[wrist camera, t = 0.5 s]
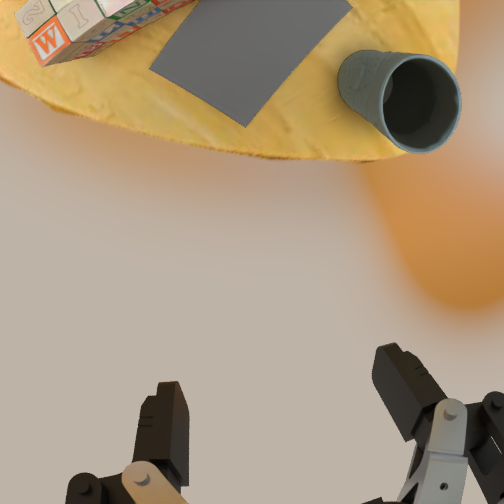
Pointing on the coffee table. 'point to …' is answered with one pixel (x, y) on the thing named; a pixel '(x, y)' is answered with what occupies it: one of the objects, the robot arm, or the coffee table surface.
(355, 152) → the coffee table surface
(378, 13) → the coffee table surface
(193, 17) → the mat
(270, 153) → the coffee table surface
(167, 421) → the robot arm
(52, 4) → the stack of blocks
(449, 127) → the grey cup
